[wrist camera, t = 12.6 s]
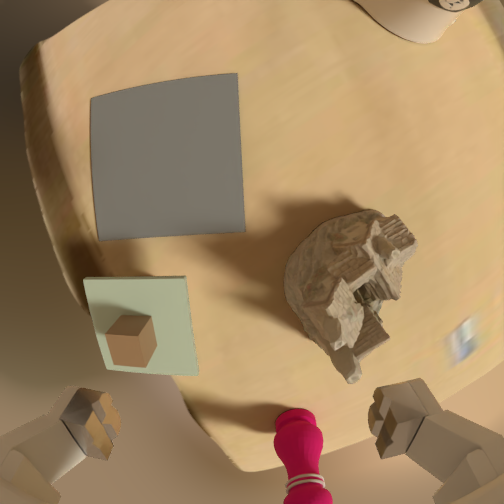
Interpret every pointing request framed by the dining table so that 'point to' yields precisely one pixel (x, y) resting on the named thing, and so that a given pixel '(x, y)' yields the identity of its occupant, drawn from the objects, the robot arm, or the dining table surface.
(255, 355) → the dining table surface
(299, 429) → the pepper mill
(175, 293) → the lid
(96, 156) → the mat
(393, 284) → the ceramic cottage
